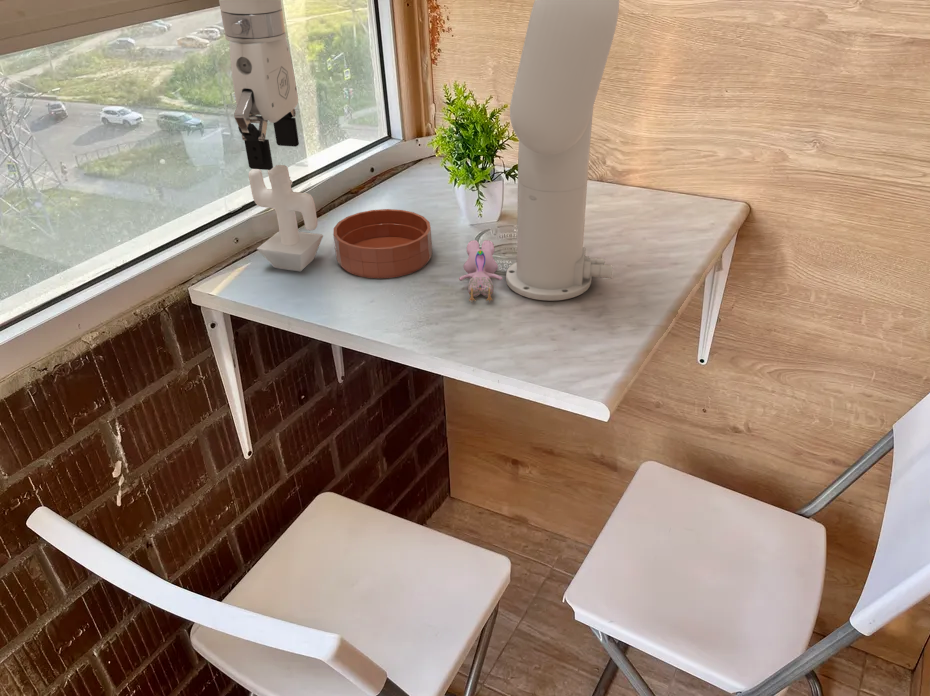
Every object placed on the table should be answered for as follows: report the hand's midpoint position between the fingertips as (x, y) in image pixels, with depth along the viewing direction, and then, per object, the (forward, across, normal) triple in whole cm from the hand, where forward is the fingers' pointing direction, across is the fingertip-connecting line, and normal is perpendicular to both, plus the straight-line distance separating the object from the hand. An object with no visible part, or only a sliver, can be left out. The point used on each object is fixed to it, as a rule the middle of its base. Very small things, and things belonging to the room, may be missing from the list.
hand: (275, 156), depth 108 cm
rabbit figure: (+16, -1, -30) cm, 34 cm away
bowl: (+16, +4, -14) cm, 22 cm away
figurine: (+17, 0, 0) cm, 17 cm away
